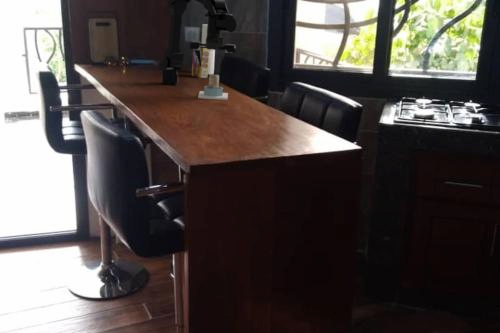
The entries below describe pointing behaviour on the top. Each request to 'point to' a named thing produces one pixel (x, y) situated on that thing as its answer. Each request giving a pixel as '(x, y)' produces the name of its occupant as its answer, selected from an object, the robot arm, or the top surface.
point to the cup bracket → (213, 93)
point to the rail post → (213, 81)
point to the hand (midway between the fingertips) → (211, 67)
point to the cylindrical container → (211, 51)
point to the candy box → (203, 70)
